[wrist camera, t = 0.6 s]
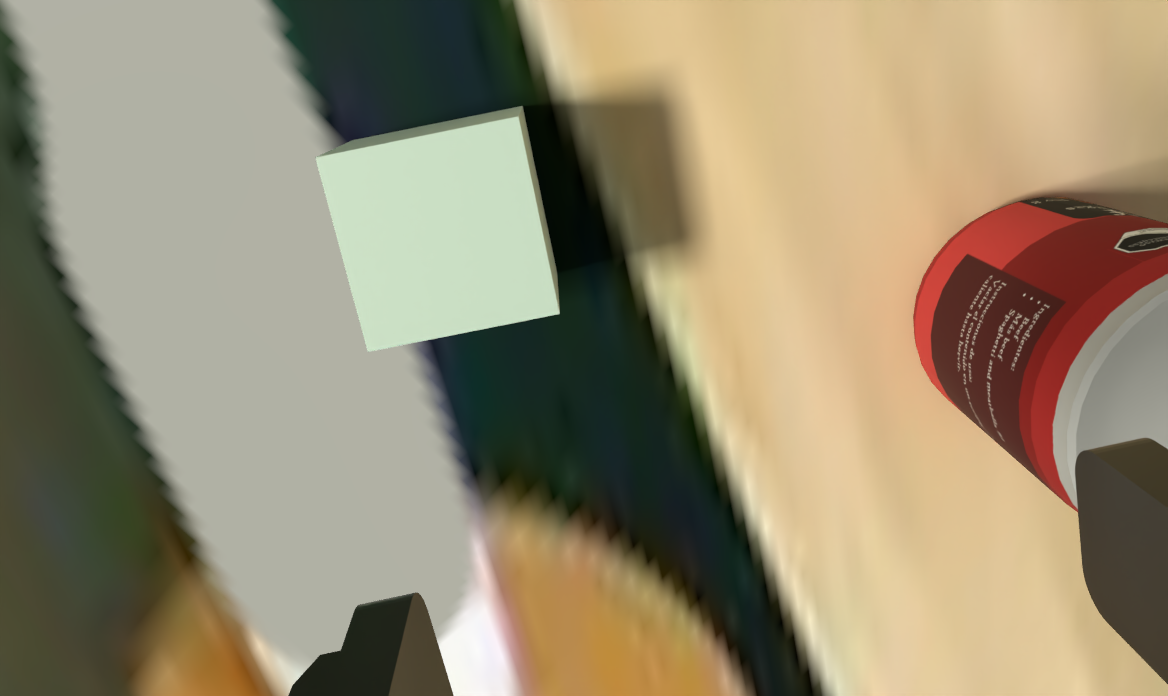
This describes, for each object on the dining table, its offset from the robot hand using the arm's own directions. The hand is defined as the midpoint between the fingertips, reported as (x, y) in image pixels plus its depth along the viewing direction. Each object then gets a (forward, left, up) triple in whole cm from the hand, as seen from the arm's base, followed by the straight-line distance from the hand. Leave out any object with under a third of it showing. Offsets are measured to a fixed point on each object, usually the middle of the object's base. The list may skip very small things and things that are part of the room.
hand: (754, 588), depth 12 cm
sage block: (-2, -5, -22) cm, 23 cm away
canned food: (+5, +13, -22) cm, 26 cm away
